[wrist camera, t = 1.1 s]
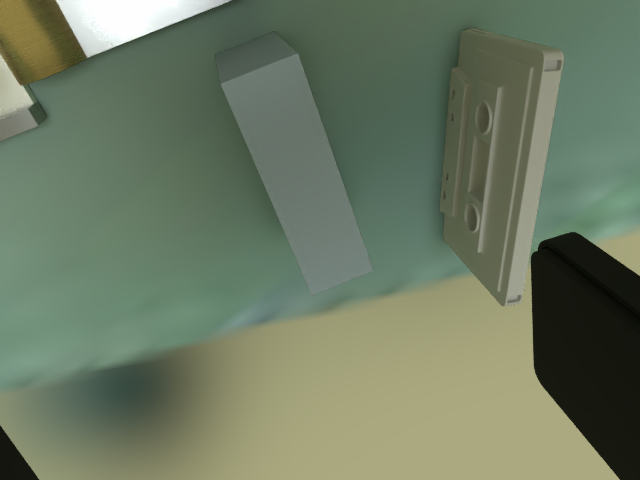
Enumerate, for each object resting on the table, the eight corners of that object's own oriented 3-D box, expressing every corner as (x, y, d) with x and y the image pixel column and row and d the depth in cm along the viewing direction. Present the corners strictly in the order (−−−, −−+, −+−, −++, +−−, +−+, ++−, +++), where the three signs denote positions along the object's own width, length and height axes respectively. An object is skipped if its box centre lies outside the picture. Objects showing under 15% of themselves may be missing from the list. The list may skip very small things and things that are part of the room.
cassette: (462, 236, 33) (529, 306, 26) (433, 240, 33) (494, 312, 26) (485, 26, 28) (578, 47, 21) (451, 28, 27) (533, 51, 20)
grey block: (274, 30, 26) (298, 53, 19) (338, 208, 30) (373, 270, 24) (213, 54, 26) (218, 84, 19) (287, 228, 30) (310, 296, 24)
